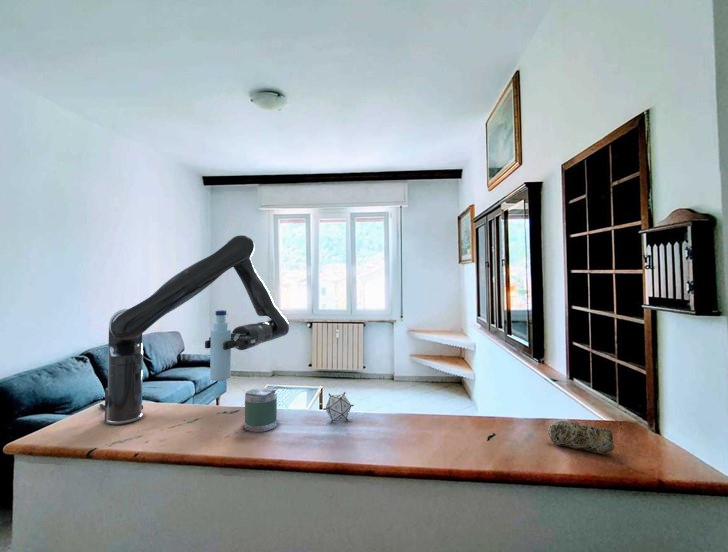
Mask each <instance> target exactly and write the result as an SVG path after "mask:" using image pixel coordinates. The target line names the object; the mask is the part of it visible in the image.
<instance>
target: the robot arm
mask: <svg viewBox="0 0 728 552" xmlns="http://www.w3.org/2000/svg"><path fill="white" fill-rule="evenodd" d="M254 252H255V243H254V240H253V239H252V238H251V237H249V236H247V235H242V234H239V235H235V236H233V237H232V238H230V239H229V240H228V241H227V242H226V243H225V244H224V245H223V246H221V247H220V248H219V249H218V250H217V251H215V252H213V253H212V254H210V255H209V256H206V257H205V258H202V259H200V260H198V261H197V262H195V263H192V264H191V265H189V266H188V267H186V268H183V270H181V271H179V272H178V273H176V274H175V275H173V276H172V277H170V278H169V279H168V280H167V281H166V282H164V283H163V284H162V285H161V286H160V287H159V288H158V289H156V291H154V292H153V294H151V295H150V296H149V297H146V299H144V300H143V301H141V302H139V303H137V304H135V305H133V306H132V307H129V308H123V309H122V308H121V309H120V310H117V311H116V312H115V313H113V315H112V316H111V317H110V319H109V322H108V349H107V351H108V352H107V353H108V357H107V358H108V360H107V361H108V362H107V363H108V365H107V369H108V370H107V387H106V388H105V391H104V404H103V403H100V404H99V407H100V408H101V409H103V410H104V421H105V422H106V424H109V425H126V424H130V423H133V422H136V421H139V420H140V419H142V418H143V410H144V405H143V379H144V377H143V373H144V371H143V369H144V350H143V349H144V348H143V333H145V332H146V331H147V330H148V329H149V328H151V327H152V326H153V325H154V324H155V323H157V321H159V320H160V319H162V318H163V317H164V316H166V315H167V314H169V313H170V312H172V311H174V310H176V309H177V308H179V307H180V306H182V305H184V304H185V303H188V302H189V301H190V300H192V299H193V298H194V297H196V296H197V295H199V294H200V293H202V292H203V291H204V290H206V289H207V288H208V287H209V286H211V285H212V284H213V283H214V282H215V281H216V280H218V279H219V278H220V277H221V276H222V275H224V273H226V272H227V271H229V270H230V269H232V268H233V269H234V271H235V272H236V274H237V276H238V277H239V279H240V281H241V283H242V285H243V287H244V289H245V291H246V293H247V295H248V297H249V300H250V302H251V304H252V306H253V308H254V311H255V314H256V315H257V316H258V317H268V318H269V320H267V321H260V322H256V323H247V324H243V325H239V326H236V327H235V328H234V329H233V330H232V331H231V340H230V341H226V342H224V343H223V349H224V350H228V349H231V350H232V349H236V350H238V351H245V350H248V349H251V348H254V347H257V346H259V345H261V344H263V343H267V342H270V341H273V340H276V339H279V338H282V337H284V336H287V335H288V334H289V331H290V325H289V322H288V320H287V318H286V317H285V316H284V315H283V314H282V312H281V311H280V310H279V308H278V307H277V306H276V305H275V303H274V300H273V298H272V296H271V294H270V291H269V290H268V288H267V286H266V285H265V283H264V281H263V280H262V279H261V277H260V276H259V275H258V273H257V271H256V269H255V268H254V265H253V262H252V259H251V257H252V256H253V254H254ZM204 348H205V349H206V350H207V349H211V336H210V337H208V340H205V341H204Z"/></svg>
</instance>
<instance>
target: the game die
mask: <svg viewBox="0 0 728 552" xmlns="http://www.w3.org/2000/svg"><path fill="white" fill-rule="evenodd" d="M328 396H329V397H328V400H327V403H326V406H325V407H324V408H322V410H323V411H326V412H327V415H328V416H329V418H330V420H331V421H330V423H331V424H333V423H334V421H343V420H344V421H346V422H349V419H348V417H349V414H350V411H351V408H352V407H354V406H355V405H354V404H352V403H351V402H350V401H349V399H348V398H347V397H346V391H344V392H343V393H342V394H333V395H331V393H328ZM348 412H349V413H348Z"/></svg>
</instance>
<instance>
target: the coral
mask: <svg viewBox="0 0 728 552" xmlns="http://www.w3.org/2000/svg"><path fill="white" fill-rule="evenodd" d="M547 433H548V436H549V439H550V441H551V443H552V444H553V445H555V446H560V447H561V446H562V447H568V448H573V449H575V450H581V451H586V452H591V453H594V454H599V455H608V454H609V453H611V452H613V451H614V450H615V445H614V441H613V440H614V435H613V431H612V430H610V429H609V428H605V427H600V426H595V425H590V424H582V423H577V422H572V421H566V420H562V419H561V420H557V421H556V420H555V421H554V422H552V423H551V424H550V425H549V427H548V429H547Z"/></svg>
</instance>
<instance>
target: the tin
mask: <svg viewBox="0 0 728 552" xmlns="http://www.w3.org/2000/svg"><path fill="white" fill-rule="evenodd" d="M277 392H278V391H277V389H276V388H271V387H259V386H257V387H255V388H252V389H249V390H247V391H246V392H245V393H244V429H245V430H246V431H248V432H252V433H262V432H268V431H271V430H273V429H275V428H276V427H277V417H278V415H277V414H278V393H277Z"/></svg>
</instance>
